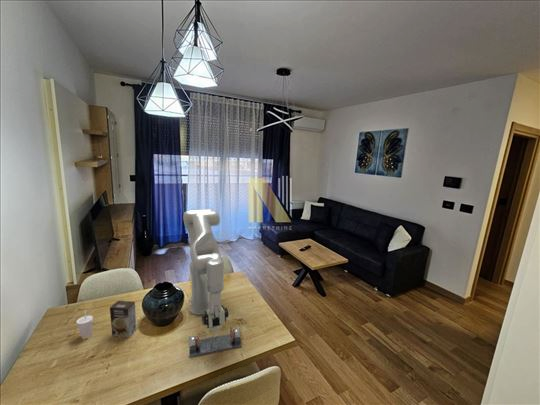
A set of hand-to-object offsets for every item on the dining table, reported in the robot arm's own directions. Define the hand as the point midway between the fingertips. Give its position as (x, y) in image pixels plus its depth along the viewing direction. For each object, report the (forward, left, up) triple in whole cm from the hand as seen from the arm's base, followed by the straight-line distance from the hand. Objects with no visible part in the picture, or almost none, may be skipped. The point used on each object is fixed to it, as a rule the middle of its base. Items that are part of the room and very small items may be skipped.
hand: (215, 320), depth 113 cm
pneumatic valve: (0, 0, -5) cm, 5 cm away
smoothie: (-55, -33, -14) cm, 66 cm away
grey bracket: (0, 0, -13) cm, 13 cm away
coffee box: (-43, -21, -14) cm, 50 cm away
